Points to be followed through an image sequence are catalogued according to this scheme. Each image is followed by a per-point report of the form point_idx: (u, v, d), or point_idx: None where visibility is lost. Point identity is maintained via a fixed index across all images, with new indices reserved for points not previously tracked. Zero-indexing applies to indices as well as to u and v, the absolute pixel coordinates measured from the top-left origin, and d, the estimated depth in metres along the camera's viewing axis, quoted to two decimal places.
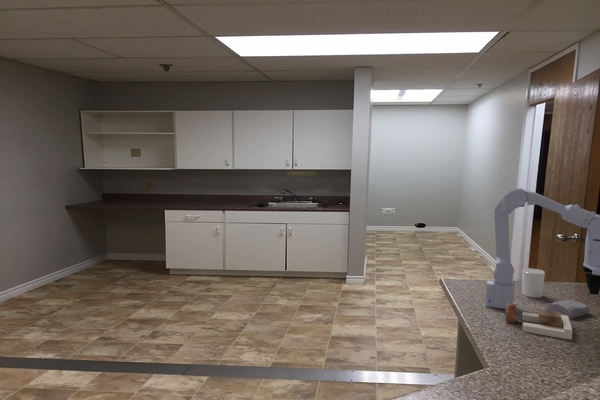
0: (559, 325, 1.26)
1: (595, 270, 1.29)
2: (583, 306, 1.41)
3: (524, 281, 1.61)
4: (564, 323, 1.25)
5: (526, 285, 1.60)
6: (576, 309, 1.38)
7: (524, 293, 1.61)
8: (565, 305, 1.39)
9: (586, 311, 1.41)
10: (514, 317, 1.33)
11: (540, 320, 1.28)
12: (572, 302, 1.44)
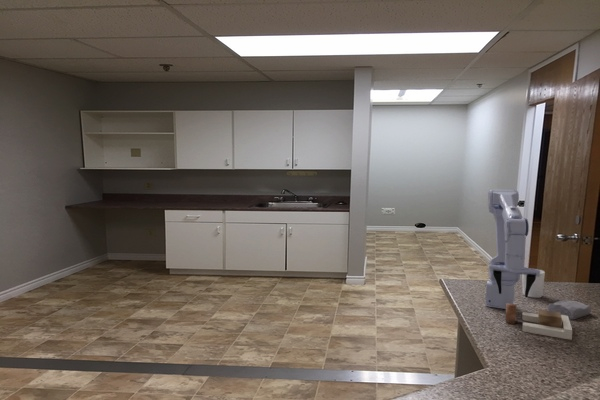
0: (559, 325, 1.26)
1: (490, 266, 1.36)
2: (585, 306, 1.40)
3: (524, 281, 1.61)
4: (564, 323, 1.25)
5: None
6: (578, 310, 1.37)
7: (524, 293, 1.61)
8: (567, 306, 1.39)
9: (588, 311, 1.40)
10: (514, 317, 1.33)
11: (540, 320, 1.28)
12: (573, 302, 1.44)
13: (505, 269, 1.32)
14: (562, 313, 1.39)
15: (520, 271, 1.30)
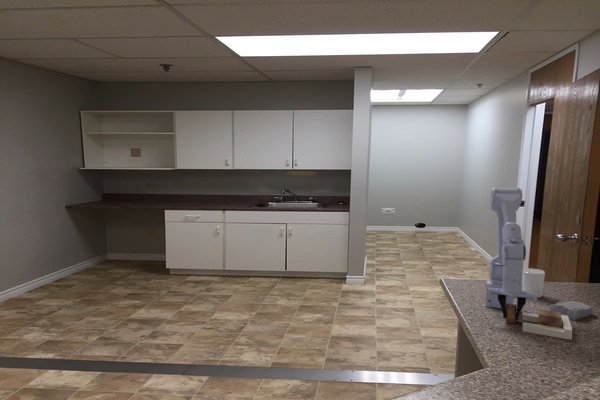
0: (559, 325, 1.26)
1: (487, 289, 1.37)
2: (587, 307, 1.39)
3: (524, 281, 1.61)
4: (564, 323, 1.25)
5: (526, 285, 1.60)
6: (580, 310, 1.37)
7: None
8: (569, 306, 1.38)
9: (590, 312, 1.40)
10: (514, 317, 1.33)
11: (540, 320, 1.28)
12: (576, 303, 1.43)
13: (503, 293, 1.33)
14: (564, 314, 1.39)
15: (517, 295, 1.30)
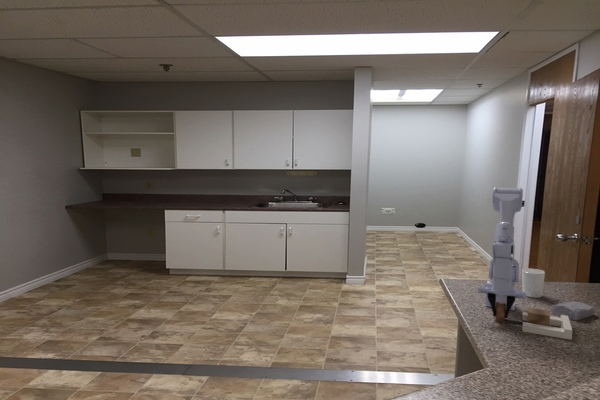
0: (547, 323, 1.27)
1: (478, 287, 1.39)
2: (588, 308, 1.39)
3: (524, 281, 1.61)
4: (564, 323, 1.25)
5: (526, 285, 1.60)
6: (582, 311, 1.36)
7: None
8: (571, 307, 1.37)
9: (592, 312, 1.39)
10: (504, 315, 1.34)
11: (529, 318, 1.29)
12: (577, 304, 1.42)
13: (492, 291, 1.34)
14: (566, 314, 1.38)
15: (507, 294, 1.32)
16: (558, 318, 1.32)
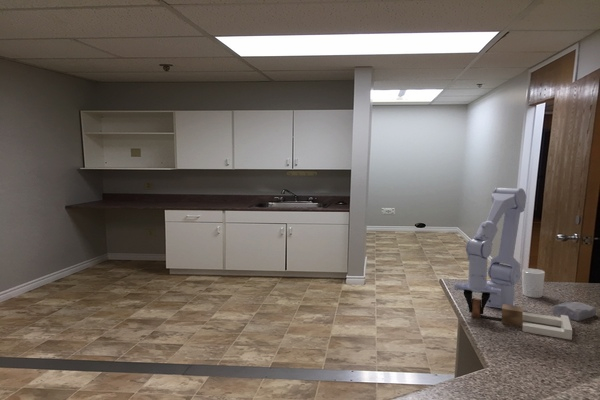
0: (520, 319, 1.31)
1: None
2: (590, 308, 1.39)
3: (524, 281, 1.61)
4: (564, 323, 1.25)
5: (526, 285, 1.60)
6: (583, 311, 1.36)
7: (524, 293, 1.61)
8: (572, 307, 1.37)
9: (593, 313, 1.39)
10: (479, 311, 1.38)
11: (503, 314, 1.33)
12: (579, 304, 1.42)
13: (468, 288, 1.38)
14: (567, 315, 1.38)
15: (482, 290, 1.36)
16: (558, 318, 1.32)
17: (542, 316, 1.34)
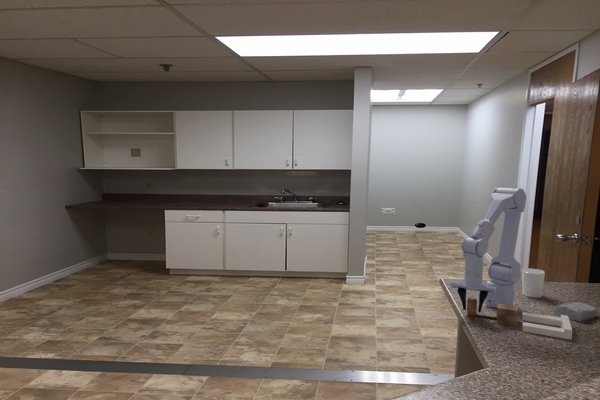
0: (515, 318, 1.31)
1: None
2: (592, 309, 1.38)
3: (524, 281, 1.61)
4: (564, 323, 1.25)
5: (526, 285, 1.60)
6: (585, 312, 1.35)
7: (524, 293, 1.61)
8: (574, 308, 1.37)
9: (595, 313, 1.38)
10: (475, 311, 1.39)
11: (498, 313, 1.34)
12: (580, 304, 1.42)
13: (464, 286, 1.38)
14: (569, 315, 1.37)
15: (477, 288, 1.36)
16: (558, 318, 1.32)
17: (542, 316, 1.34)
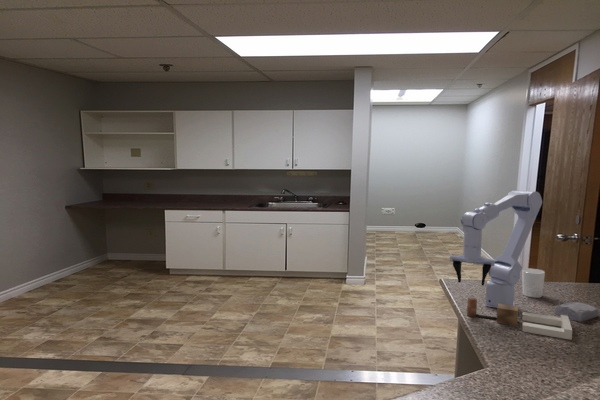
0: (515, 318, 1.31)
1: None
2: (592, 309, 1.38)
3: (524, 281, 1.61)
4: (564, 323, 1.25)
5: (526, 285, 1.60)
6: (586, 312, 1.35)
7: (524, 293, 1.61)
8: (574, 308, 1.36)
9: (596, 314, 1.38)
10: (475, 311, 1.39)
11: (498, 313, 1.34)
12: (581, 305, 1.41)
13: (463, 259, 1.42)
14: (570, 315, 1.37)
15: (476, 261, 1.39)
16: (558, 318, 1.32)
17: (542, 316, 1.34)
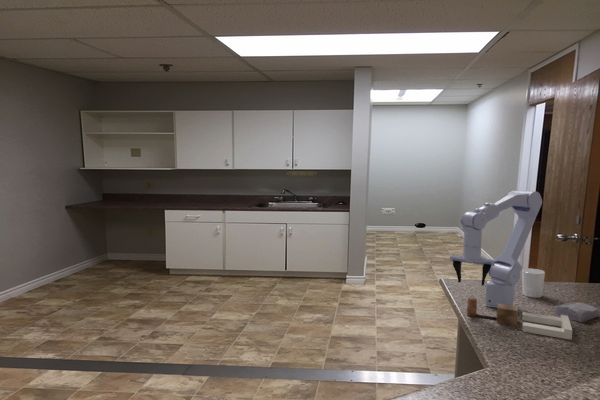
0: (515, 318, 1.31)
1: None
2: (593, 309, 1.38)
3: (524, 281, 1.61)
4: (564, 323, 1.25)
5: (526, 285, 1.60)
6: (586, 312, 1.35)
7: (524, 293, 1.61)
8: (575, 308, 1.36)
9: (596, 314, 1.38)
10: (475, 311, 1.39)
11: (498, 313, 1.34)
12: (581, 305, 1.41)
13: (463, 259, 1.42)
14: (570, 316, 1.37)
15: (476, 261, 1.39)
16: (558, 318, 1.32)
17: (542, 316, 1.34)
